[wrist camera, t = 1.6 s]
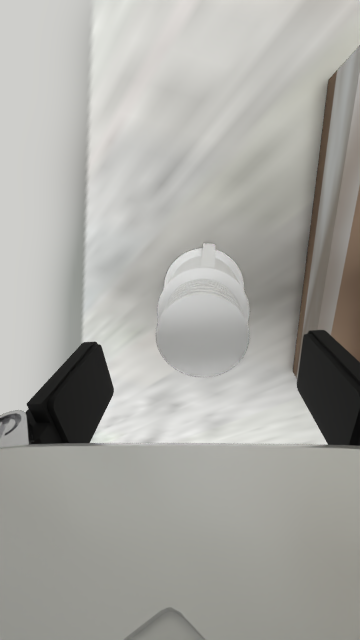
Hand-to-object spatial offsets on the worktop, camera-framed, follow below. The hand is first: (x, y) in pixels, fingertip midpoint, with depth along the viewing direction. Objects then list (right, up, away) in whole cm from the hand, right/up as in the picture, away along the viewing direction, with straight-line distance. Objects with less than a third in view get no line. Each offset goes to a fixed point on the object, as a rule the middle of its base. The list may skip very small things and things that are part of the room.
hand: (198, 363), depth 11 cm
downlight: (+1, +5, +10) cm, 11 cm away
